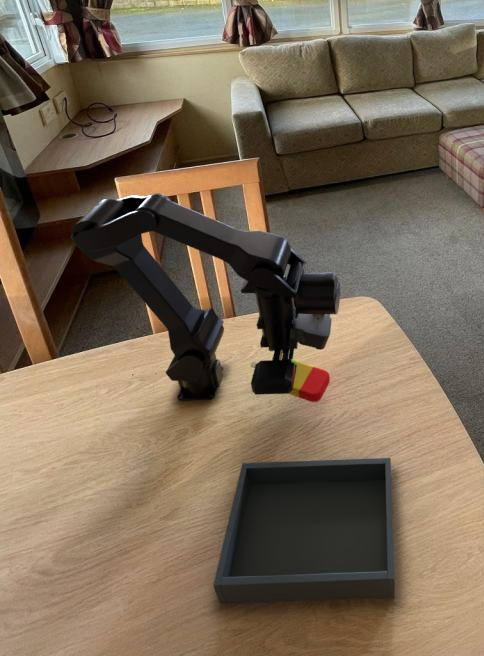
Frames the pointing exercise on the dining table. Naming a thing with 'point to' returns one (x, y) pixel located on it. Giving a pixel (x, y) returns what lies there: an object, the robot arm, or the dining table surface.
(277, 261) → the robot arm
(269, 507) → the tub
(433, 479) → the dining table surface
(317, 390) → the popsicle
